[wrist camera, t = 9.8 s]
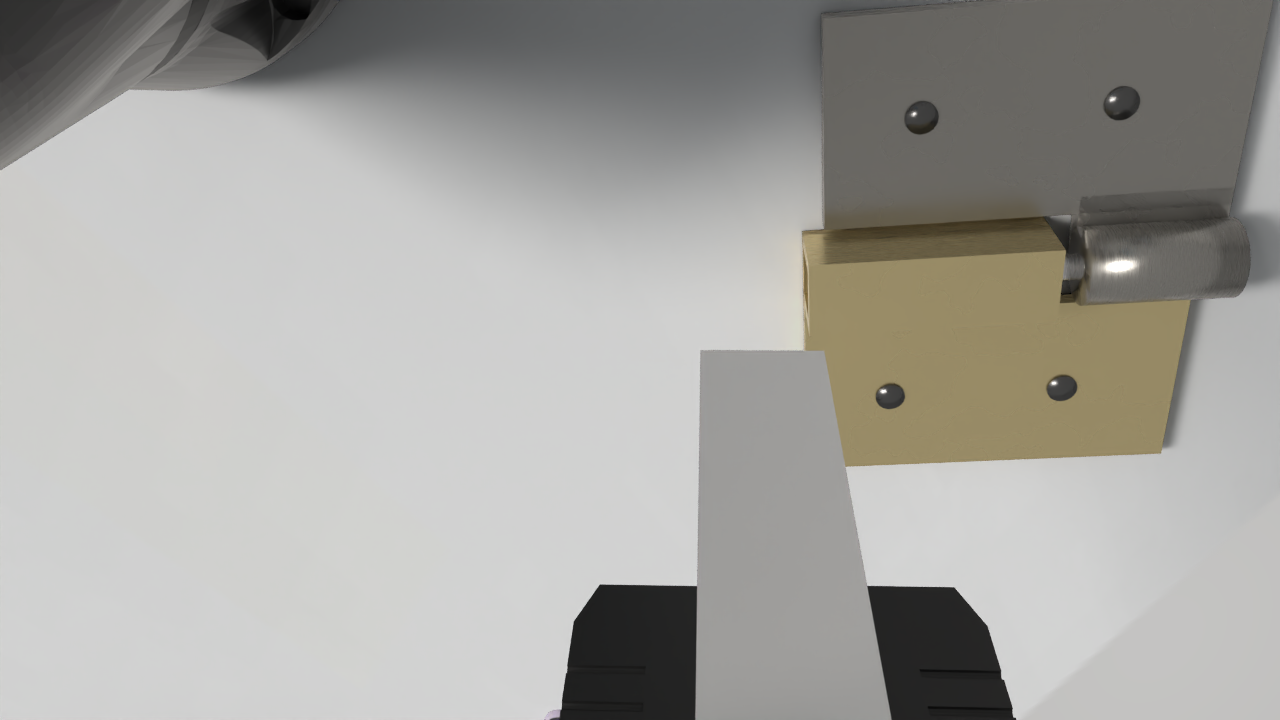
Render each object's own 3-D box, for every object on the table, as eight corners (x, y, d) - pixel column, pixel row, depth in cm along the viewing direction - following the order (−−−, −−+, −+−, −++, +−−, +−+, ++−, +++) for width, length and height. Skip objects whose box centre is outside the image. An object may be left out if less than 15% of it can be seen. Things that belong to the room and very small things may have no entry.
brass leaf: (806, 458, 47) (811, 502, 45) (802, 231, 42) (808, 265, 39) (1155, 443, 46) (1182, 488, 43) (1200, 205, 40) (1234, 240, 38)
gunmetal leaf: (823, 296, 43) (830, 333, 41) (821, 13, 37) (829, 35, 35) (1206, 274, 42) (1240, 311, 39) (1266, -24, 36) (1310, -4, 33)
